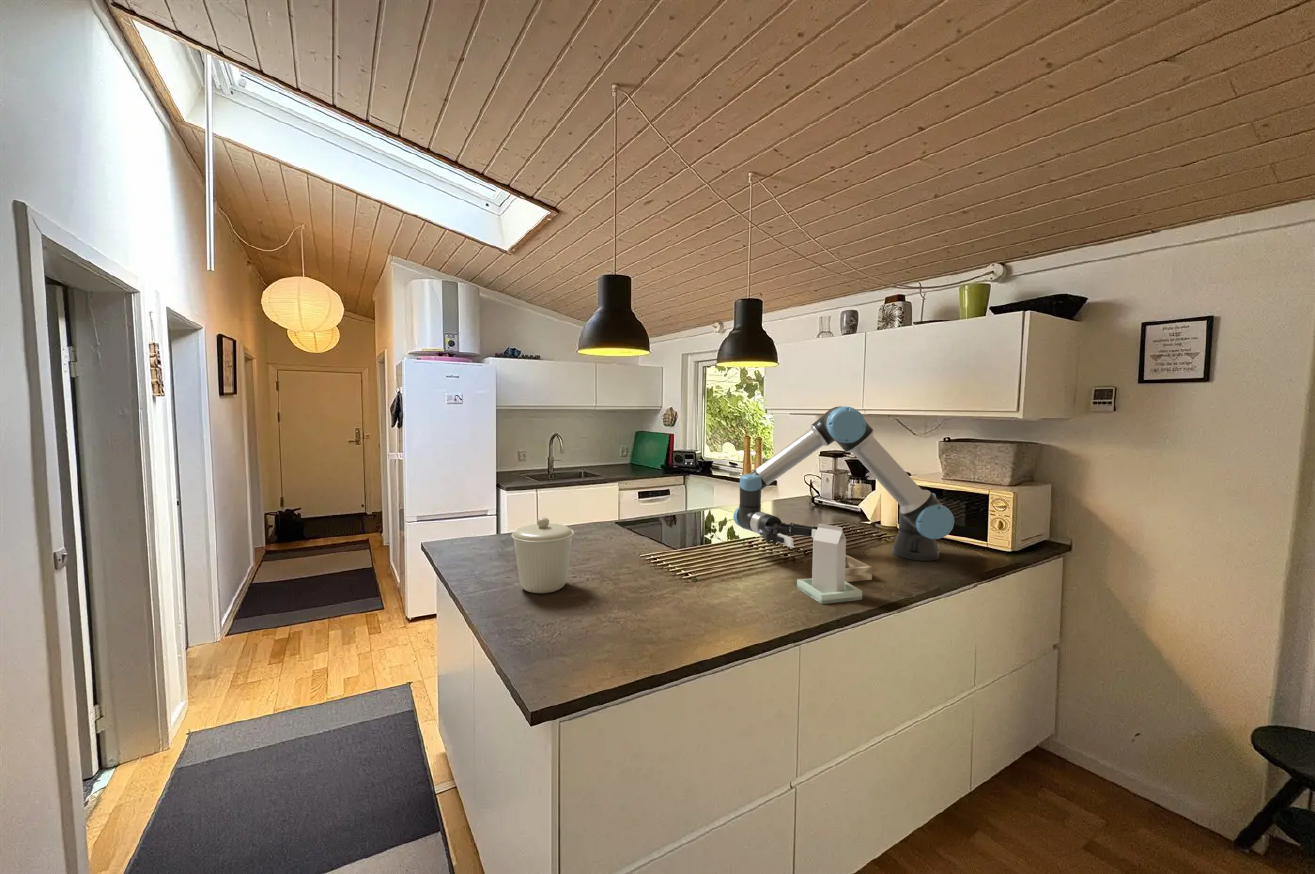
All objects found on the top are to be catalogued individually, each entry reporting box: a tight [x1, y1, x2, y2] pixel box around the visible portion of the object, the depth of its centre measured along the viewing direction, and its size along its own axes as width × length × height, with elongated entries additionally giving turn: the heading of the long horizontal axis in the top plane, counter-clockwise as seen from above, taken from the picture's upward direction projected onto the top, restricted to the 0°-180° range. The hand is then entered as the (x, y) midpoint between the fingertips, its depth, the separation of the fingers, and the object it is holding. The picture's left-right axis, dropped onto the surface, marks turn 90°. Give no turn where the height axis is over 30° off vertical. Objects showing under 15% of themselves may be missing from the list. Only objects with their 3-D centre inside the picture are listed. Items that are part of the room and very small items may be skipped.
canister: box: [511, 517, 575, 594], centre depth 156 cm, size 18×18×21 cm
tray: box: [796, 577, 863, 605], centre depth 153 cm, size 13×13×2 cm
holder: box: [811, 554, 873, 583], centre depth 170 cm, size 13×13×4 cm
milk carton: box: [811, 523, 847, 593], centre depth 153 cm, size 7×7×19 cm
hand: (810, 540), depth 160 cm, fingers open, 13 cm apart
